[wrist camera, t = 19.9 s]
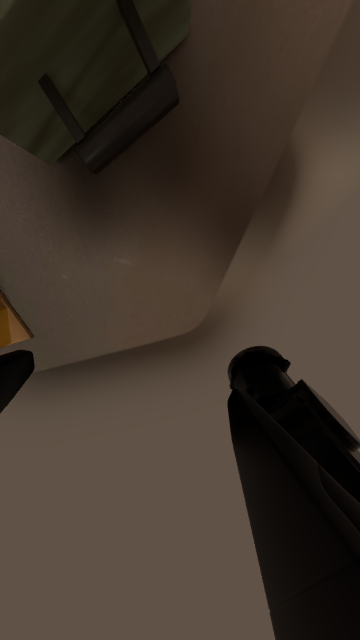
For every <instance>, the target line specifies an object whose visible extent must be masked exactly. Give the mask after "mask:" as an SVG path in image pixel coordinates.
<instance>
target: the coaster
mask: <svg viewBox="0 0 360 640" xmlns="http://www.w3.org/2000/svg"><path fill="white" fill-rule="evenodd" d="M0 307H4V308H7V314H8V322H9V330H10V338H11V343H9V344H7V345H6V346H8V345H11V344H14V343H18V342H21V341H24V340H27V339H31V338H33V335H32V334H31V333H30V331H29V330H28V328H27V327H26V326H25V324H24V323H23V322H22V320H21V319H20V317H19V316H18V315H17V313H16V312H15V311H14V309H13V308H12V306H11V305H10V304H9V302H8V301H7V300H6V298H5V297H4V295H3V294H2V293H1V291H0ZM4 347H5V346H4Z"/></svg>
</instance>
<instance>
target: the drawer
mask: <svg viewBox="0 0 360 640" xmlns="http://www.w3.org/2000/svg"><path fill="white" fill-rule="evenodd" d="M190 11H191V0H0V135H2V136H4V137H5V138H7V139H9V140H10V141H12V142H14V143H15V144H17V145H18V146H20V147H22V148H23V149H25V150H27V151H28V152H30V153H31V154H33V155H35V156H36V157H38V158H40V159H41V160H43V161H45V162H46V163H48V164H49V165H52V164H53V163H54V162H55V161H56V160H57V159H58V158H60V157H61V156H62V155H63V154H64V153H65V152H66V151H67V150H68V149H69V148H70V147H71V146H72V145H73V144H74V143H75V142H76V143H77V144H78V146H77V147H76V150H77V153H78V154H79V156H80V158H81V159H82V161H83V162H84V163H85V165H86V166H87V167H88V169H89V170H90V171H91V172H92V173H93V174H94V175H97V174H98V173H100V172H101V171H102V170H103V169H104V168H105V167H106V166H108V165H109V164H110V163H111V162H112V161H113V160H115V159H116V158H117V157H118V156H119V155H120V154H121V153H123V152H124V151H125V150H126V149H127V148H128V147H130V146H131V145H132V144H133V143H134V142H135V141H136V140H138V139H139V138H140V137H141V136H142V135H143V134H145V133H146V132H147V131H148V130H149V129H150V128H151V127H153V126H154V125H155V124H156V123H157V122H158V121H160V120H161V119H162V118H163V117H164V116H165V115H166V114H168V113H169V112H170V111H171V110H172V109H173V108H175V107H176V106H177V105H178V103H179V95H178V90H177V86H176V83H175V80H174V77H173V75H172V72H171V70H170V68H169V67H168V65H167V64H164V65H163V66H162V67H161V64H160V61H162V60H163V59H164V58H165V57H166V56H167V55H168V54H169V53H170V52H171V51H172V50H173V49H174V48H175V47H176V46H177V45H178V44H179V43H180V42H181V41H183V40H184V39H185V38H186V37H187V36H188V35H189V33H190ZM147 74H149V76H150V78H149V79H148V80H147V81H146V82H145V83H143V84H142V85H141V86H140V87H139V88H138V89H137V90H136V91H135V92H134V93H133V94H132V95H131V96H130V97H129V98H128V99H127V100H125V101H124V102H123V103H122V104H121V105H120V106H119V107H118V108H117V109H116V110H115V111H114V112H113V113H112V114H111V115H110V116H108V117H107V118H106V119H105V120H104V121H103V122H102V123H101V124H100V125H99V126H98V127H97V128H96V129H95V130H94V131H93V132H91V133H90V134H89V135H88V136H86V135H85V133H86V132H87V131H88V130H89V129H90V128H91V127H92V126H93V125H94V124H95V123H96V122H97V121H98V120H99V119H101V118H102V117H103V116H104V115H105V114H106V113H107V112H108V111H109V110H110V109H111V108H112V107H113V106H114V105H115V104H116V103H117V102H118V101H119V100H121V99H122V98H123V97H124V96H125V95H126V94H127V93H128V92H129V91H130V90H131V89H132V88H133V87H134V86H135V85H136V84H137V83H138V82H139V81H140V80H142V79H143V78H144V77H145V76H146V75H147Z"/></svg>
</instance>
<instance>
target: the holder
mask: <svg viewBox="0 0 360 640" xmlns="http://www.w3.org/2000/svg"><path fill="white" fill-rule="evenodd" d="M9 343H11V338H10V330H9V322H8V314H7V308H4V307H0V348H2V347H4V346H6V345H7V344H9Z"/></svg>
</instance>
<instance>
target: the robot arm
mask: <svg viewBox="0 0 360 640" xmlns="http://www.w3.org/2000/svg"><path fill="white" fill-rule="evenodd" d="M248 354H249V355H248ZM247 355H248V356H247ZM285 363H286V364H285ZM290 364H291V363H290V362H289V361H288V360H287V359H282V358H278V357H273V356H269V355H264V354H259V353H255V352H250V351H246V352H244V354H243V356H242V358H241V360H240V363H239V364H238V365H237V367H236V369H235V371H234V374H233V376H232V378H231V379H232V380H231V382H230V389H232V392H231V394H230V397H229V399H228V413H229V422H230V430H231V437H232V443H233V448H234V452H235V457H236V462H237V466H238V471H239V475H240V480H241V484H242V489H243V493H244V497H245V502H246V507H247V511H248V516H249V520H250V525H251V529H252V534H253V539H254V543H255V548H256V552H257V556H258V561H259V566H260V570H261V575H262V580H263V583H264V589H265V593H266V598H267V602H268V607H269V610H270V616H271V621H272V626H273V630H274V635H275V639H276V640H360V452H359V451H358V450H357V449H358V448H360V440H359V439H358V437H357V436H356V435H355V433H354V432H353V431H352V429H351V428H350V427H349V425H348V424H347V423H346V421H345V420H344V419H343V418H342V417H341V416H340V415H339V414H338V413H337V412H336V411H335V410H334V409H333V408H332V407H331V406H330V405H329V404H328V402H327V401H326V400H324V399H323V398H322V397H321V396H320V395H319V394H318V393H316V391H314V390H313V389H312V388H311V387H310V386H309V385H308V384H307V383H306V382H304V381H303V380H302V379H301V380H300V381H298V383H297V384H295V383H294V382H293V381H292V379H291V378H290V377H289V376H288V375H287V373H286V371H287V369H288V368H289V366H290ZM34 367H35V366H34V358H33V353H32V352H31V351H27V350H17V351H14V352H10V353H7V354H3V355H0V413H1V412H2V411H3V409H4V408H5V407H6V406H7V405H8V404H9V402H10V401H11V400H12V399H13V397H14V396H15V395H16V393H17V392H18V391H19V390H20V388H21V387H22V385H23V384H24V383H25V382H26V380H27V379H28V378H29V376H30V375H31V374H32V372H33V371H34ZM232 386H233V387H232Z"/></svg>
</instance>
